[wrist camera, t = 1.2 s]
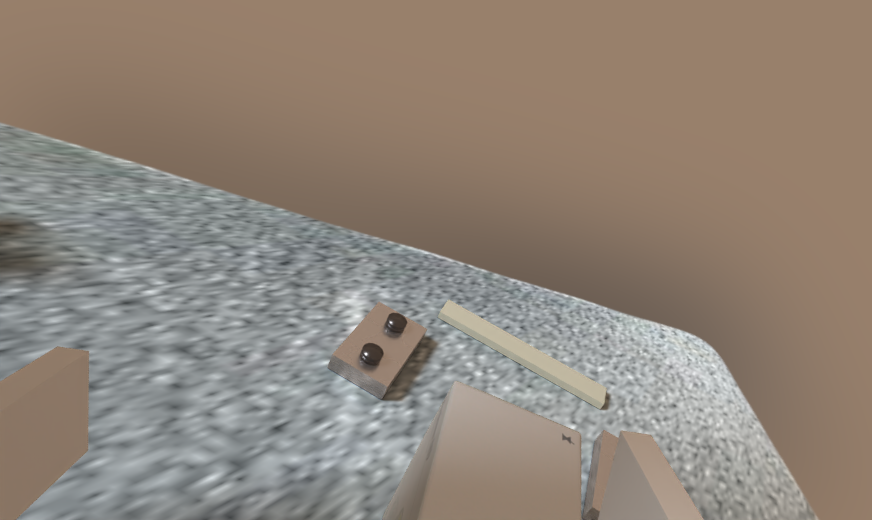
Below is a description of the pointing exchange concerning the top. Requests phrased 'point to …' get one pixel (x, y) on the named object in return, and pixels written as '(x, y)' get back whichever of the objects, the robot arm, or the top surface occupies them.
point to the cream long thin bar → (523, 354)
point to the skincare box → (490, 465)
